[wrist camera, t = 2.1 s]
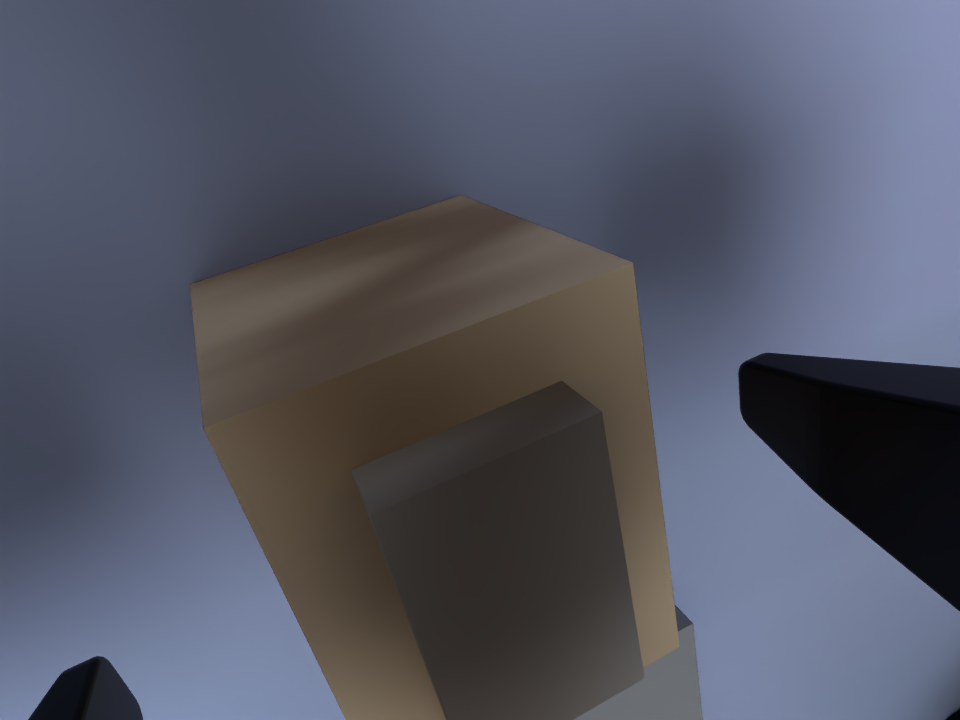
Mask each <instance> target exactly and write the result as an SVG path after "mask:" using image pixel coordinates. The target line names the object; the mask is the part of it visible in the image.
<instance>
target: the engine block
mask: <svg viewBox="0 0 960 720" xmlns="http://www.w3.org/2000/svg"><path fill="white" fill-rule="evenodd" d="M190 292H191V303H192V314H193V325H194V335H195V346H196V357H197V368H198V378H199V389H200V400H201V411H202V421H203V429H204V431H205V433H206V435H207V437H208V439H209V441H210V443H211V445H212V447H213V449H214V452H215V454H216V456H217V458H218V460H219V462H220V464H221V466H222V468H223V470H224V472H225V474H226V476H227V478H228V480H229V482H230V484H231V486H232V488H233V490H234V492H235V494H236V496H237V498H238V500H239V503H240V505H241V507H242V509H243V511H244V513H245V515H246V517H247V519H248V521H249V523H250V525H251V527H252V529H253V531H254V533H255V535H256V537H257V539H258V541H259V543H260V545H261V547H262V549H263V551H264V554H265V556H266V558H267V560H268V562H269V564H270V566H271V568H272V570H273V572H274V574H275V576H276V578H277V580H278V582H279V584H280V586H281V588H282V590H283V592H284V594H285V596H286V598H287V600H288V602H289V605H290V607H291V609H292V611H293V613H294V615H295V617H296V619H297V621H298V623H299V625H300V627H301V629H302V631H303V633H304V635H305V637H306V639H307V641H308V643H309V645H310V647H311V649H312V651H313V653H314V656H315V658H316V660H317V662H318V664H319V666H320V668H321V670H322V672H323V674H324V676H325V678H326V680H327V682H328V684H329V686H330V688H331V690H332V692H333V694H334V696H335V698H336V700H337V702H338V704H339V707H340V709H341V711H342V713H343V715H344V717H345V719H346V720H574V719H575V718H577V717H579V716H581V715H582V714H584V713H586V712H587V711H589V710H591V709H593V708H594V707H596V706H598V705H600V704H601V703H603V702H605V701H606V700H608V699H610V698H612V697H613V696H615V695H617V694H619V693H620V692H622V691H624V690H625V689H627V688H629V687H631V686H632V685H634V684H636V683H638V682H639V681H641V680H643V679H645V676H644V669H643V667H645V666H647V665H649V664H650V663H652V662H654V661H656V660H657V659H659V658H661V657H663V656H664V655H666V654H668V653H670V652H671V651H673V650H675V649H677V648H678V647H680V646H679V638H678V629H677V621H676V613H675V605H674V597H673V588H672V580H671V572H670V564H669V555H668V547H667V539H666V531H665V522H664V514H663V506H662V498H661V489H660V481H659V473H658V465H657V456H656V448H655V440H654V432H653V423H652V415H651V407H650V399H649V390H648V382H647V374H646V366H645V357H644V349H643V341H642V333H641V324H640V316H639V308H638V300H637V291H636V283H635V275H634V267H633V262H630V261H628V260H625V259H623V258H620V257H618V256H615V255H612V254H610V253H607V252H605V251H602V250H600V249H597V248H595V247H592V246H590V245H587V244H585V243H582V242H580V241H577V240H575V239H572V238H570V237H567V236H564V235H562V234H559V233H557V232H554V231H552V230H549V229H547V228H544V227H542V226H539V225H537V224H534V223H532V222H529V221H527V220H524V219H522V218H519V217H517V216H514V215H511V214H509V213H506V212H504V211H501V210H499V209H496V208H494V207H491V206H489V205H486V204H484V203H481V202H479V201H476V200H474V199H471V198H469V197H466V196H464V195H460V196H457V197H454V198H451V199H448V200H445V201H441V202H438V203H435V204H432V205H429V206H426V207H423V208H420V209H417V210H414V211H411V212H408V213H405V214H402V215H399V216H396V217H393V218H390V219H387V220H384V221H381V222H378V223H375V224H372V225H368V226H365V227H362V228H359V229H356V230H353V231H350V232H347V233H344V234H341V235H338V236H335V237H332V238H329V239H326V240H323V241H320V242H317V243H314V244H311V245H308V246H305V247H302V248H299V249H295V250H292V251H289V252H286V253H283V254H280V255H277V256H274V257H271V258H268V259H265V260H262V261H259V262H256V263H253V264H250V265H247V266H244V267H241V268H238V269H235V270H232V271H229V272H226V273H222V274H219V275H216V276H213V277H210V278H207V279H204V280H201V281H198V282H195V283H192V284H190Z"/></svg>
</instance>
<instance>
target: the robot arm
mask: <svg viewBox="0 0 960 720" xmlns="http://www.w3.org/2000/svg"><path fill="white" fill-rule="evenodd" d="M738 375H739V395H740V411H741V414H742V417H743V419H744V421H745V422H746V424H747V425H748V426H749V427H750V428H751V429H752V430H753V431H754V432H755V433H756V434H757V435H758V436H759V437H760V438H761V439H762V440H763V441H764V442H765V443H766V444H767V445H768V446H769V447H770V448H771V449H772V450H773V451H774V452H775V453H776V454H777V455H778V456H779V457H780V458H781V459H782V460H783V461H784V462H785V463H786V464H787V465H788V466H789V467H790V468H791V469H792V470H793V471H794V472H795V473H796V474H797V475H798V476H799V477H800V478H801V479H802V480H803V481H804V482H805V483H806V484H807V485H808V486H809V487H810V488H811V489H812V490H813V491H814V492H815V493H817V494H818V495H819V496H820V497H821V498H822V499H823V500H824V501H826V502H827V503H828V504H829V505H830V506H831V507H833V508H834V509H835V510H836V511H838V512H839V513H840V514H841V515H842V516H844V517H845V518H846V519H847V520H849V521H850V522H851V523H852V524H853V525H855V526H856V527H857V528H858V529H860V530H861V531H862V532H863V533H864V534H866V535H867V536H868V537H869V538H871V539H872V540H873V541H874V542H875V543H877V544H878V545H879V546H880V547H882V548H883V549H884V550H885V551H886V552H888V553H889V554H890V555H891V556H893V557H894V558H895V559H896V560H897V561H899V562H900V563H901V564H902V565H904V566H905V567H906V568H907V569H908V570H910V571H911V572H912V573H913V574H915V575H916V576H917V577H918V578H919V579H921V580H922V581H923V582H924V583H926V584H927V585H928V586H929V587H930V588H932V589H933V590H934V591H935V592H937V593H938V594H939V595H940V596H941V597H943V598H944V599H945V600H946V601H948V602H949V603H950V604H951V605H952V606H954V607H955V608H956V609H957V610H959V611H960V368H956V367H943V366H930V365H917V364H905V363H892V362H879V361H866V360H853V359H841V358H828V357H815V356H802V355H790V354H777V353H763V354H760V355H758V356H756V357H754V358H751V359H749V360H747V361H745V362H743V363H742V364H741V366H740V368H739V373H738ZM28 720H143V717H142V713H141V709H140V706H139V704H138V702H137V700H136V698H135V697H134V695H133V694H132V693H131V691H130V690H129V688H128V687H127V685H126V684H125V683H124V681H123V680H122V678H121V677H120V676H119V674H118V673H117V671H116V670H115V668H114V667H113V666H112V664H111V663H110V662H109V661H108V660H107V659H106V658H104V657H101V656H96V657H93V658H91V659H89V660H87V661H84V662H82V663H80V664H78V665H76V666H73V667H71V668H69V669H67V670H65V671H64V672H63V673H61V675H60V676H59V677H58V678H57V680H56V681H55V682H54V684H53V685H52V687H51V688H50V689H49V691H48V692H47V694H46V695H45V696H44V698H43V699H42V701H41V702H40V703H39V705H38V706H37V708H36V709H35V711H34V712H33V713H32V715H31V716H30V718H29V719H28ZM948 720H960V711H959V712H958V713H956V714H955V715H953V716H952V717H951V718H949V719H948Z"/></svg>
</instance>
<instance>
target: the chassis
mask: <svg viewBox="0 0 960 720" xmlns="http://www.w3.org/2000/svg"><path fill="white" fill-rule="evenodd" d="M674 605H675V604H674ZM675 613H676V621H677V629H678V638H679V646H680V647H678V648H677V649H675V650H673V651H671V652H670V653H668V654H666V655H664V656H663V657H661V658H659V659H657V660H656V661H654V662H652V663H650V664H649V665H647V666H645V667H643V669H644V676H645V679H643V680H641V681H639V682H638V683H636V684H634V685H632V686H631V687H629V688H627V689H625V690H624V691H622V692H620V693H619V694H617V695H615V696H613V697H612V698H610V699H608V700H606V701H605V702H603V703H601V704H600V705H598V706H596V707H594V708H593V709H591V710H589V711H587V712H586V713H584V714H582V715H581V716H579V717H577V718H575V719H574V720H703V716H702V706H701V697H700V687H699V678H698V668H697V658H696V649H695V639H694V630H693V623H692V622H691V621H690V620H689V619H688V618H687V617H686V616H685V615H684V614H683V613H682V612H681V611H680V609H679V608H678V607H677V606H676V605H675Z"/></svg>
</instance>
